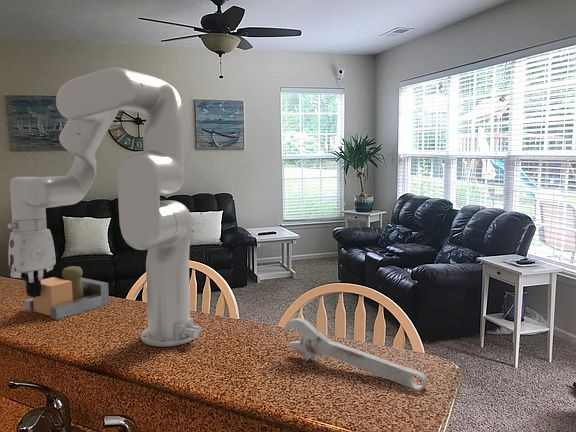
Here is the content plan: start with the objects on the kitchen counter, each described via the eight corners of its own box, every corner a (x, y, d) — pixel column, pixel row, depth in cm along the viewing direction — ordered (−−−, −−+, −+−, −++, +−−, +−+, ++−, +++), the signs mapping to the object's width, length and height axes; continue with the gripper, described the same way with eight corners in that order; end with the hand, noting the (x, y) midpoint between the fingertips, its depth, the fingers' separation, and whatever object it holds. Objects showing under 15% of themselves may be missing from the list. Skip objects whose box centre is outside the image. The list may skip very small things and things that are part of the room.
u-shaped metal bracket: (108, 303, 135) (108, 282, 134) (56, 320, 121) (55, 297, 120) (77, 296, 142) (76, 276, 141) (24, 310, 128) (23, 289, 127)
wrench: (420, 406, 86) (281, 351, 101) (423, 402, 88) (286, 348, 103) (427, 365, 85) (285, 316, 100) (430, 361, 86) (290, 313, 101)
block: (73, 310, 128) (71, 281, 127) (52, 316, 123) (50, 286, 122) (54, 305, 132) (52, 277, 131) (33, 311, 127) (31, 281, 126)
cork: (66, 310, 128) (64, 270, 127) (58, 305, 133) (56, 266, 131) (89, 305, 133) (87, 267, 131) (80, 300, 137) (79, 263, 136)
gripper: (8, 230, 112) (13, 306, 114) (65, 223, 125) (69, 291, 127) (-10, 228, 116) (-4, 301, 118) (48, 221, 129) (51, 287, 131)
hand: (34, 295), depth 123 cm, fingers closed
